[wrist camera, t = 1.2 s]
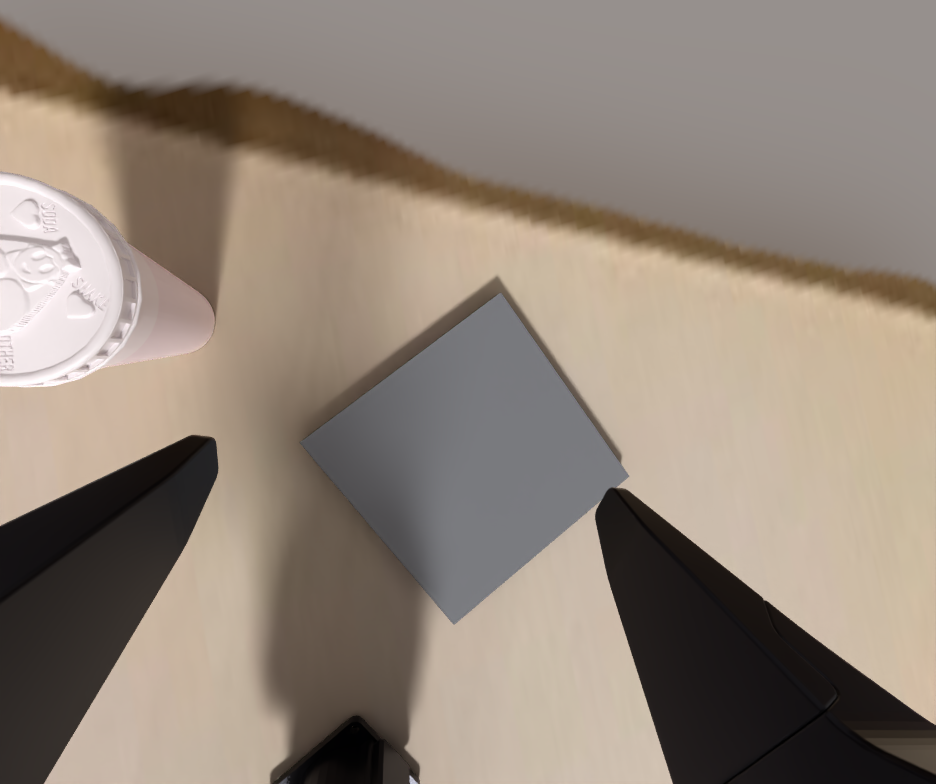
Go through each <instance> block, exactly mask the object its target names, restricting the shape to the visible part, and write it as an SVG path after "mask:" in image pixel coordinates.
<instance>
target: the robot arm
mask: <svg viewBox="0 0 936 784" xmlns="http://www.w3.org/2000/svg"><path fill="white" fill-rule="evenodd" d="M217 474H218V458H217V446H216V441H215V439H214V438H212V437H208V436H200V435H191V436H188V437H186V438H184V439H182V440H180V441H177V442H175V443H173V444H171V445H169V446H167V447H165V448H163V449H161V450H159V451H156V452H154V453H152V454H150V455H148V456H146V457H144V458H142V459H140V460H138V461H135V462H133V463H131V464H129V465H127V466H125V467H123V468H121V469H119V470H117V471H114V472H112V473H110V474H108V475H106V476H104V477H102V478H100V479H98V480H96V481H93V482H91V483H89V484H87V485H85V486H83V487H81V488H79V489H77V490H74V491H72V492H70V493H68V494H66V495H64V496H62V497H60V498H58V499H56V500H53V501H51V502H49V503H47V504H45V505H43V506H41V507H39V508H37V509H35V510H32V511H30V512H28V513H26V514H24V515H22V516H20V517H18V518H16V519H14V520H11V521H9V522H7V523H5V524H3V525H1V526H0V784H44V782H45V781H46V779H47V777H48V776H49V774H50V772H51V771H52V769H53V767H54V766H55V764H56V762H57V761H58V759H59V757H60V756H61V754H62V752H63V751H64V749H65V747H66V746H67V744H68V742H69V741H70V739H71V737H72V736H73V734H74V732H75V730H76V729H77V727H78V725H79V724H80V722H81V720H82V719H83V717H84V715H85V714H86V712H87V710H88V709H89V707H90V705H91V704H92V702H93V700H94V699H95V697H96V695H97V694H98V692H99V690H100V689H101V687H102V685H103V684H104V682H105V680H106V679H107V677H108V675H109V674H110V672H111V670H112V669H113V667H114V665H115V663H116V662H117V660H118V658H119V657H120V655H121V653H122V652H123V650H124V648H125V647H126V645H127V643H128V642H129V640H130V638H131V637H132V635H133V633H134V632H135V630H136V628H137V627H138V625H139V623H140V622H141V620H142V618H143V617H144V615H145V613H146V612H147V610H148V608H149V607H150V605H151V603H152V602H153V600H154V598H155V596H156V595H157V593H158V591H159V590H160V588H161V586H162V585H163V583H164V581H165V580H166V578H167V576H168V575H169V573H170V571H171V570H172V568H173V566H174V565H175V563H176V561H177V560H178V558H179V556H180V554H181V553H182V551H183V549H184V547H185V546H186V544H187V542H188V540H189V537H190V535H191V533H192V531H193V529H194V527H195V524H196V522H197V520H198V518H199V516H200V513H201V511H202V509H203V507H204V504H205V502H206V500H207V498H208V496H209V493H210V491H211V489H212V487H213V485H214V482H215V480H216V478H217ZM595 520H596V525H597V530H598V535H599V539H600V544H601V549H602V554H603V558H604V563H605V568H606V572H607V576H608V580H609V583H610V587H611V590H612V593H613V596H614V600H615V603H616V606H617V609H618V612H619V615H620V618H621V622H622V625H623V628H624V631H625V634H626V637H627V640H628V644H629V647H630V650H631V653H632V656H633V659H634V663H635V666H636V669H637V672H638V675H639V678H640V681H641V685H642V688H643V691H644V694H645V697H646V700H647V703H648V707H649V710H650V713H651V716H652V719H653V722H654V726H655V729H656V732H657V735H658V738H659V741H660V744H661V748H662V751H663V754H664V757H665V760H666V763H667V766H668V770H669V773H670V776H671V779H672V782H673V784H936V725H934V724H933V723H931V722H929V721H928V720H926V719H925V718H924V717H922V716H921V715H919V714H918V713H916V712H915V711H913V710H912V709H911V708H909V707H908V706H907V705H905V704H904V703H902V702H901V701H900V700H898V699H897V698H896V697H894V696H893V695H891V694H890V693H889V692H887V691H886V690H885V689H883V688H882V687H880V686H879V685H878V684H876V683H875V682H874V681H872V680H871V679H869V678H868V677H867V676H865V675H864V674H863V673H861V672H860V671H858V670H857V669H856V668H854V667H853V666H852V665H850V664H849V663H847V662H846V661H845V660H843V659H842V658H841V657H839V656H838V655H837V654H835V653H834V652H832V651H831V650H830V649H828V648H827V647H826V646H824V645H823V644H822V643H820V642H819V641H818V640H816V639H815V638H814V637H812V636H811V635H810V634H808V633H807V632H806V631H804V630H803V629H802V628H801V627H799V626H798V625H797V624H795V623H794V622H793V621H792V620H790V619H789V618H788V617H786V616H785V615H784V614H783V613H781V612H780V611H779V610H778V609H776V608H775V607H774V606H773V605H771V604H770V603H769V602H768V601H766V600H763V598H762V597H761V596H760V595H759V594H757V593H756V592H755V591H754V590H752V589H751V588H750V587H749V586H747V585H746V584H745V583H744V582H742V581H741V580H740V579H739V578H737V577H736V576H735V575H734V574H732V573H731V572H730V571H729V570H727V569H726V568H725V567H724V566H722V565H721V564H720V563H719V562H717V561H716V560H715V559H713V558H712V557H711V556H710V555H708V554H707V553H706V552H705V551H703V550H702V549H701V548H700V547H698V546H697V545H696V544H695V543H693V542H692V541H691V540H690V539H688V538H687V537H686V536H685V535H683V534H682V533H681V532H680V531H678V530H677V529H676V528H675V527H673V526H672V525H671V524H670V523H668V522H667V521H666V520H665V519H663V518H662V517H661V516H660V515H658V514H657V513H656V512H654V511H653V510H652V509H651V508H649V507H648V506H647V505H646V504H644V503H643V502H642V501H641V500H639V499H638V498H637V497H636V496H634V495H633V494H632V493H631V492H629V491H628V490H626V489H623V488H615V487H611V488H609V489H608V490H607V491H606V493H605V495H604V497H603V498H602V500H601V502H600V504H599V506H598V508H597V510H596V514H595ZM352 726H358V727H357V728H353V727H352ZM273 784H420V780H419V778H418V777H417V776H416V775H415V774H414V773H413V772H412V771H411V769H410V768H409V765H408V763H407V762H406V761H405V760H404V759H403V758H402V757H401V756H400V755H399V754H398V753H397V752H396V751H395V750H394V749H393V748H392V746H391V745H390V744H389V743H388V742H387V741H386V740H385V739H382V738H380V737H379V736H378V735H377V733H376V732H375V731H374V730H373V729H372V728H371V727H370V726H369V725H368V724H367V723H366V722H365V721H364V720H363V719H362V718H361V717H360V716H353V717H351V718H350V719H348V720H347V721H346V722H345V723H344V724H343V725H341V726H340V727H339V728H338V729H337V730H335V731H334V732H333V733H332V734H331V735H330V736H328V737H327V738H326V739H325V740H324V741H323V742H321V743H320V744H319V745H318V746H317V747H315V748H314V749H313V750H312V751H311V752H310V753H308V754H307V755H306V756H305V757H304V758H302V759H301V760H300V761H299V762H298V763H297V764H295V765H294V766H293V767H292V768H291V769H290V770H288V771H287V772H286V773H285V774H284V775H282V776H281V777H280V778H279V779H278V780H277V781H275V782H274V783H273Z"/></svg>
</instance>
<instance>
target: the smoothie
mask: <svg viewBox="0 0 936 784" xmlns="http://www.w3.org/2000/svg"><path fill="white" fill-rule="evenodd" d="M214 327H215V316H214V312H213V309H212V307H211V305H210V303H209V302H208V301H207V299H206V298H205V297H204V296H203V295H202V294H200V293H199V292H198V291H196V290H195V289H193V288H192V287H191V286H189V285H188V284H186V283H185V282H183V281H182V280H181V279H179V278H178V277H176V276H175V275H173V274H172V273H170V272H169V271H168V270H166V269H165V268H163V267H162V266H160V265H159V264H158V263H156V262H155V261H153V260H152V259H150V258H149V257H147V256H146V255H145V254H143V253H142V252H140V251H139V250H137V249H136V248H134V247H133V246H132V245H130V244H129V243H128V242H126V240H125V239H124V238H123V236H122V235H121V233H120V232H119V231H118V229H117V228H116V226H115V225H114V224H113V223H111V222H110V221H109V220H108V219H107V218H106V217H105V216H103V215H102V214H101V213H100V212H99V211H98V210H96V209H95V208H94V207H93V206H92V205H90V204H88V203H86V202H84V201H82V200H80V199H79V198H77V197H75V196H73V195H71V194H69V193H67V192H65V191H63V190H59V189H56V188H54V187H52V186H50V185H48V184H45V183H43V182H41V181H38V180H35V179H32V178H30V177H26V176H22V175H18V174H13V173H7V172H0V386H18V387H43V386H55V385H59V384H63V383H67V382H70V381H74V380H78V379H81V378H83V377H85V376H87V375H89V374H90V373H92V372H94V371H96V370H98V369H101V368H105V367H111V366H117V365H123V364H129V363H135V362H141V361H147V360H153V359H159V358H165V357H171V356H176V355H182V354H188V353H191V352H194V351H196V350H198V349H200V348H201V347H203V346H204V345H205V344H206V343H207V342H208V340H209V339H210V338H211V336H212V334H213V331H214Z"/></svg>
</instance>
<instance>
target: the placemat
mask: <svg viewBox="0 0 936 784" xmlns="http://www.w3.org/2000/svg"><path fill="white" fill-rule="evenodd" d="M300 444H301V445H302V446H303V447H304V449H305V450H306V451H307V452H308V453H309V454H310V456H311V457H312V458H313V459H314V460H315V462H316V463H317V464H318V465H319V466H320V467H321V469H322V470H323V471H324V472H325V473H326V475H327V476H328V477H329V478H330V479H331V480H332V482H333V483H334V484H335V485H336V486H337V488H338V489H339V490H340V491H341V492H342V493H343V495H344V496H345V497H346V498H347V499H348V501H349V502H350V503H351V504H352V505H353V506H354V508H355V509H356V510H357V511H358V512H359V513H360V515H361V516H362V517H363V518H364V519H365V521H366V522H367V523H368V524H369V525H370V526H371V528H372V529H373V530H374V531H375V532H376V534H377V535H378V536H379V537H380V538H381V539H382V541H383V542H384V543H385V544H386V545H387V547H388V548H389V549H390V550H391V551H392V552H393V554H394V555H395V556H396V557H397V558H398V560H399V561H400V562H401V563H402V564H403V565H404V567H405V568H406V569H407V570H408V571H409V572H410V574H411V575H412V576H413V577H414V578H415V580H416V581H417V582H418V583H419V584H420V585H421V587H422V588H423V589H424V590H425V591H426V593H427V594H428V595H429V596H430V597H431V598H432V600H433V601H434V602H435V603H436V604H437V606H438V607H439V608H440V609H441V610H442V611H443V613H444V614H445V615H446V616H447V617H448V619H449V620H450V621H451V622H452V623H453V624H456V623H457V622H458V621H459V620H460V619H461V618H463V617H464V616H465V615H466V614H467V613H469V612H470V611H471V610H472V609H473V608H474V607H476V606H477V605H478V604H479V603H480V602H482V601H483V600H484V599H485V598H486V597H487V596H489V595H490V594H491V593H492V592H493V591H495V590H496V589H497V588H498V587H499V586H500V585H502V584H503V583H504V582H505V581H506V580H508V579H509V578H510V577H511V576H512V575H513V574H515V573H516V572H517V571H518V570H519V569H521V568H522V567H523V566H524V565H525V564H526V563H528V562H529V561H530V560H531V559H532V558H534V557H535V556H536V555H537V554H538V553H539V552H541V551H542V550H543V549H544V548H545V547H546V546H548V545H549V544H550V543H551V542H552V541H554V540H555V539H556V538H557V537H558V536H559V535H561V534H562V533H563V532H564V531H565V530H567V529H568V528H569V527H570V526H571V525H572V524H574V523H575V522H576V521H577V520H578V519H580V518H581V517H582V516H583V515H584V514H585V513H587V512H588V511H589V510H590V509H591V508H593V507H594V506H595V505H596V504H597V503H598V502H600V501H601V500H602V498H603V497H604V495H605V493H606V491H607V490H608V489H609V488H611V487H615V488H616V487H617V486H619V485H620V484H621V483H622V482H623V481H624V480H626V479H627V478H628V477H629V475H628V474H627V472H626V471H625V469H624V468H623V467H622V465H621V464H620V462H619V461H618V459H617V458H616V457H615V455H614V454H613V452H612V451H611V449H610V448H609V446H608V445H607V444H606V442H605V441H604V439H603V438H602V436H601V435H600V434H599V432H598V431H597V429H596V428H595V426H594V425H593V424H592V422H591V421H590V419H589V418H588V416H587V415H586V414H585V412H584V411H583V409H582V408H581V406H580V405H579V404H578V402H577V401H576V399H575V398H574V396H573V395H572V393H571V392H570V391H569V389H568V388H567V386H566V385H565V383H564V382H563V381H562V379H561V378H560V376H559V375H558V373H557V372H556V371H555V369H554V368H553V366H552V365H551V363H550V362H549V361H548V359H547V358H546V356H545V355H544V353H543V352H542V350H541V349H540V348H539V346H538V345H537V343H536V342H535V340H534V339H533V338H532V336H531V335H530V333H529V332H528V330H527V329H526V328H525V326H524V325H523V323H522V322H521V320H520V319H519V318H518V316H517V315H516V313H515V312H514V310H513V309H512V308H511V306H510V305H509V303H508V302H507V300H506V299H505V297H504V296H503V295H502V293H499V294H498V295H496V296H495V297H494V298H492V299H491V300H490V301H488V302H487V303H486V304H484V305H483V306H482V307H480V308H479V309H478V310H476V311H475V312H474V313H472V314H471V315H470V316H468V317H467V318H466V319H464V320H463V321H462V322H460V323H459V324H458V325H456V326H455V327H454V328H452V329H451V330H450V331H448V332H447V333H446V334H444V335H443V336H442V337H440V338H439V339H438V340H436V341H435V342H434V343H432V344H431V345H430V346H428V347H427V348H426V349H424V350H423V351H421V352H420V353H419V354H417V355H416V356H415V357H413V358H412V359H411V360H409V361H408V362H407V363H405V364H404V365H403V366H401V367H400V368H399V369H397V370H396V371H395V372H393V373H392V374H391V375H389V376H388V377H387V378H385V379H384V380H383V381H381V382H380V383H379V384H377V385H376V386H375V387H373V388H372V389H371V390H369V391H368V392H367V393H365V394H364V395H363V396H361V397H360V398H359V399H357V400H356V401H355V402H353V403H352V404H351V405H349V406H348V407H347V408H345V409H344V410H343V411H341V412H340V413H339V414H337V415H336V416H335V417H333V418H332V419H331V420H329V421H328V422H326V423H325V424H324V425H322V426H321V427H320V428H318V429H317V430H316V431H314V432H313V433H312V434H310V435H309V436H308V437H306V438H305V439H304V440H302V441H301V442H300Z"/></svg>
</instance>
